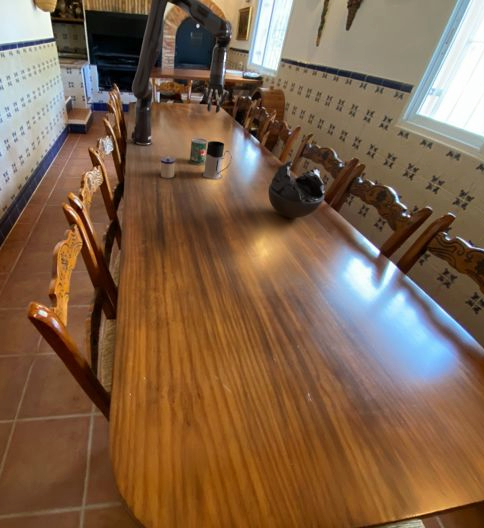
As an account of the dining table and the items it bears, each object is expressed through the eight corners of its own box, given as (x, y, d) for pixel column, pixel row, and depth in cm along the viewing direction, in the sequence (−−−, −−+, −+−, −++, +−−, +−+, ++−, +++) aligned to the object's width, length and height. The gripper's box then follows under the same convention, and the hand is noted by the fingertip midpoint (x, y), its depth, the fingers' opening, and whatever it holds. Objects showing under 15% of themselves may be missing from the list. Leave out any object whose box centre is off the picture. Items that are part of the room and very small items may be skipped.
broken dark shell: (324, 228, 110) (345, 179, 98) (272, 227, 108) (287, 178, 97) (302, 203, 126) (318, 158, 114) (256, 202, 124) (267, 157, 112)
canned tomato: (189, 159, 161) (191, 137, 154) (204, 160, 161) (206, 138, 154) (189, 164, 154) (191, 142, 148) (204, 165, 154) (207, 143, 148)
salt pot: (158, 177, 139) (159, 157, 134) (162, 171, 144) (162, 152, 139) (173, 178, 138) (174, 159, 133) (175, 173, 144) (176, 154, 138)
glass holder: (210, 170, 149) (214, 139, 140) (233, 179, 141) (239, 147, 132) (199, 174, 144) (202, 142, 135) (222, 184, 136) (227, 151, 127)
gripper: (201, 71, 143) (197, 111, 154) (228, 75, 138) (222, 115, 149) (207, 70, 148) (204, 108, 159) (234, 74, 143) (228, 113, 154)
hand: (213, 111), depth 154 cm, fingers open, 3 cm apart
